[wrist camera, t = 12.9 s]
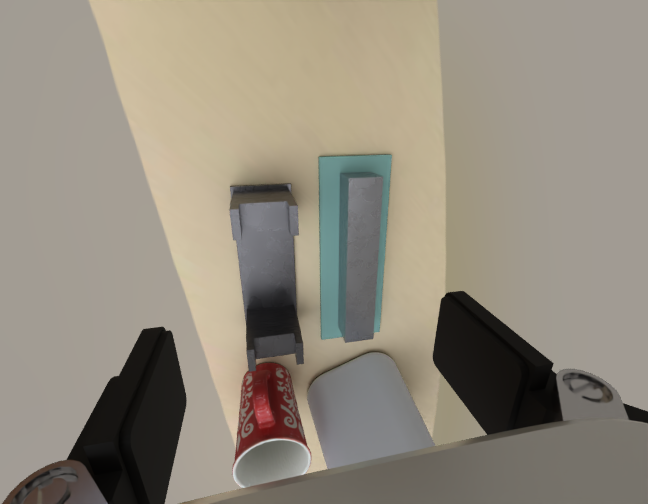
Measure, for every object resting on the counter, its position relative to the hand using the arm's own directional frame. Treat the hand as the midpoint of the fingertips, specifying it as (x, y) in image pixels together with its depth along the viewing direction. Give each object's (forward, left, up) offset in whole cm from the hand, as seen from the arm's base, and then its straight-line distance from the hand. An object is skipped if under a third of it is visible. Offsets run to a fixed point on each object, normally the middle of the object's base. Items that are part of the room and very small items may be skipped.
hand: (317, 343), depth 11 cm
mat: (+10, +10, -30) cm, 34 cm away
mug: (+28, -2, -31) cm, 41 cm away
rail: (+10, +10, -30) cm, 33 cm away
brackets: (+10, -1, -30) cm, 32 cm away
